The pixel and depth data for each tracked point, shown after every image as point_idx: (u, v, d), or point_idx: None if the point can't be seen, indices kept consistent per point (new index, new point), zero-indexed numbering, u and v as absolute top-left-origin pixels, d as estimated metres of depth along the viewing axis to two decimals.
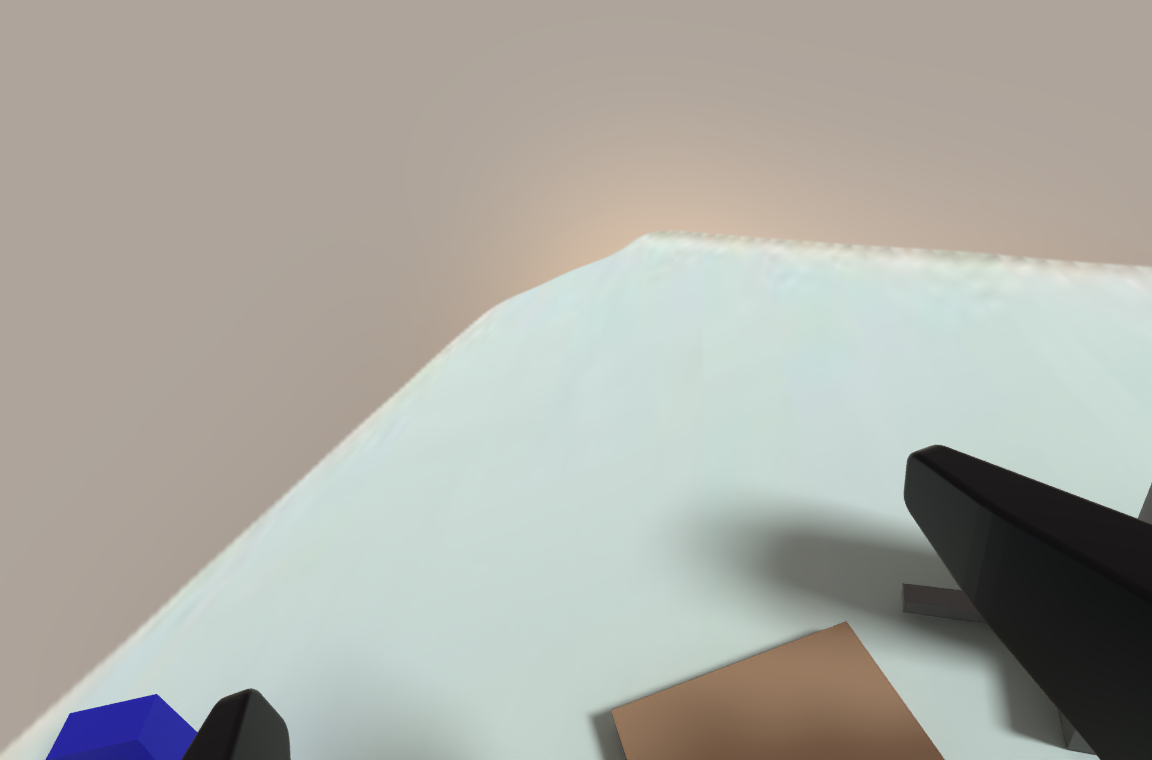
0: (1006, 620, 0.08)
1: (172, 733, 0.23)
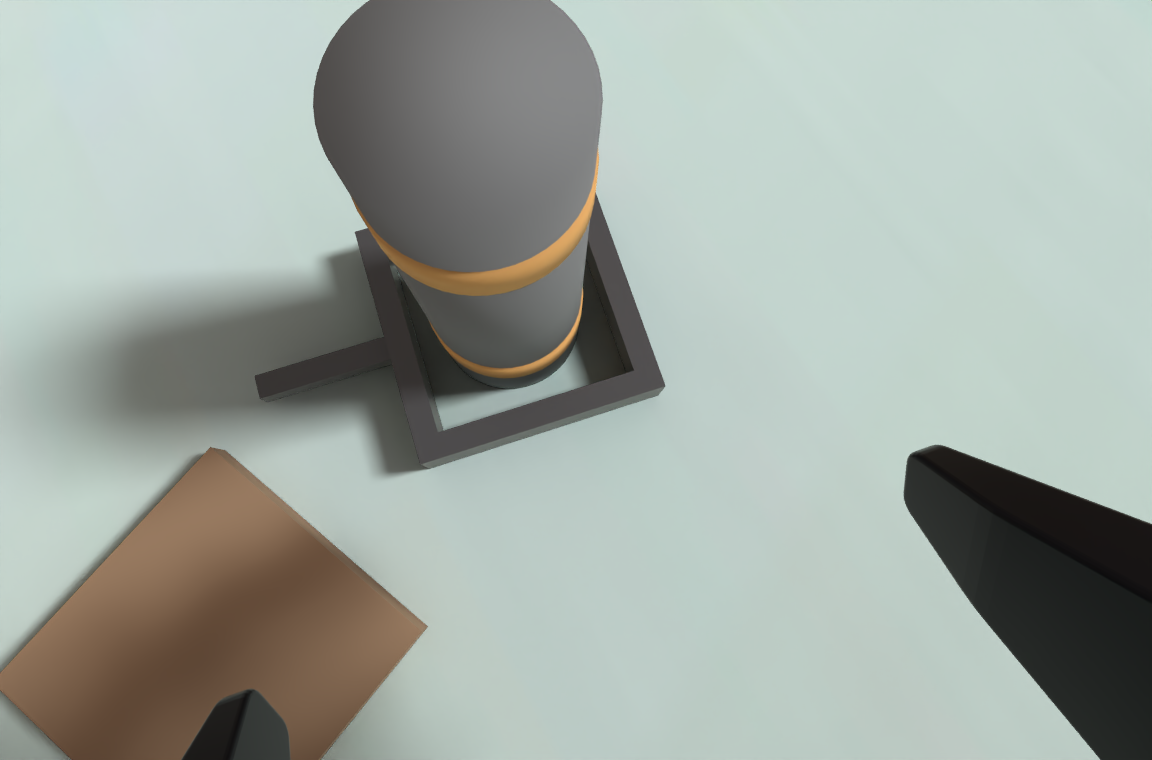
0: (1006, 620, 0.08)
1: None
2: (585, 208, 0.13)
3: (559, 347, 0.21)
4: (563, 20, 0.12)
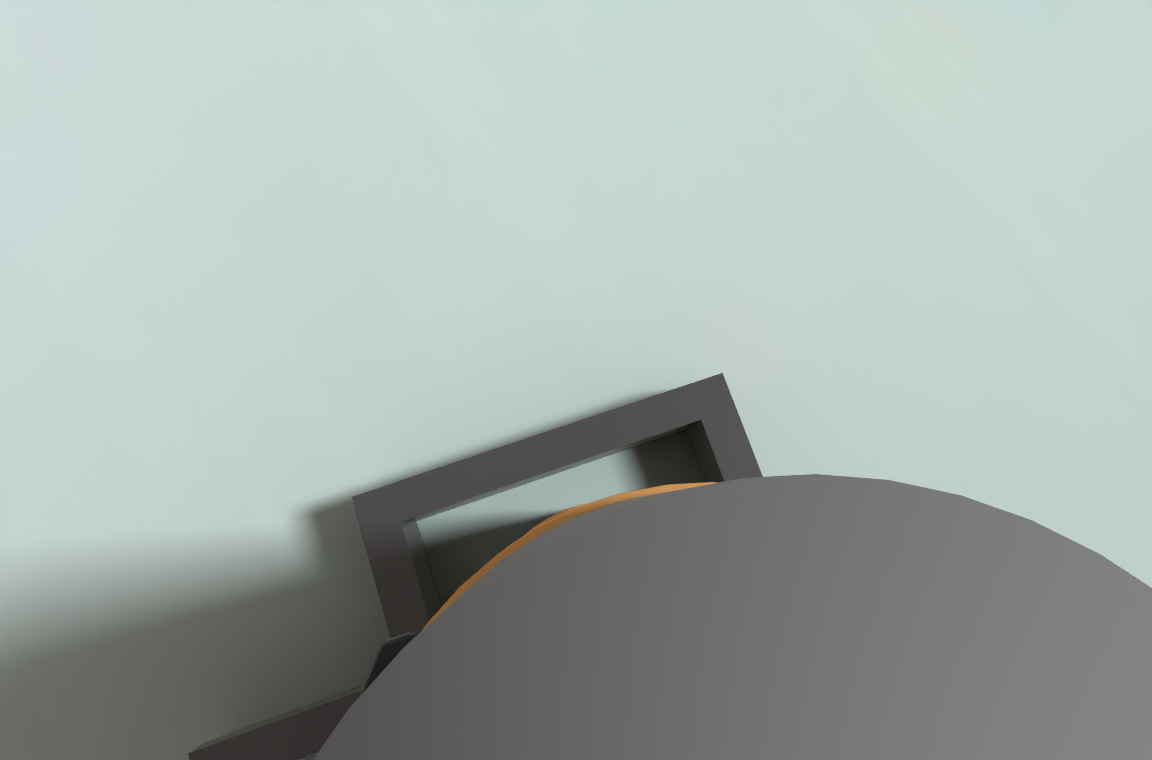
0: None
1: None
2: None
3: None
4: None
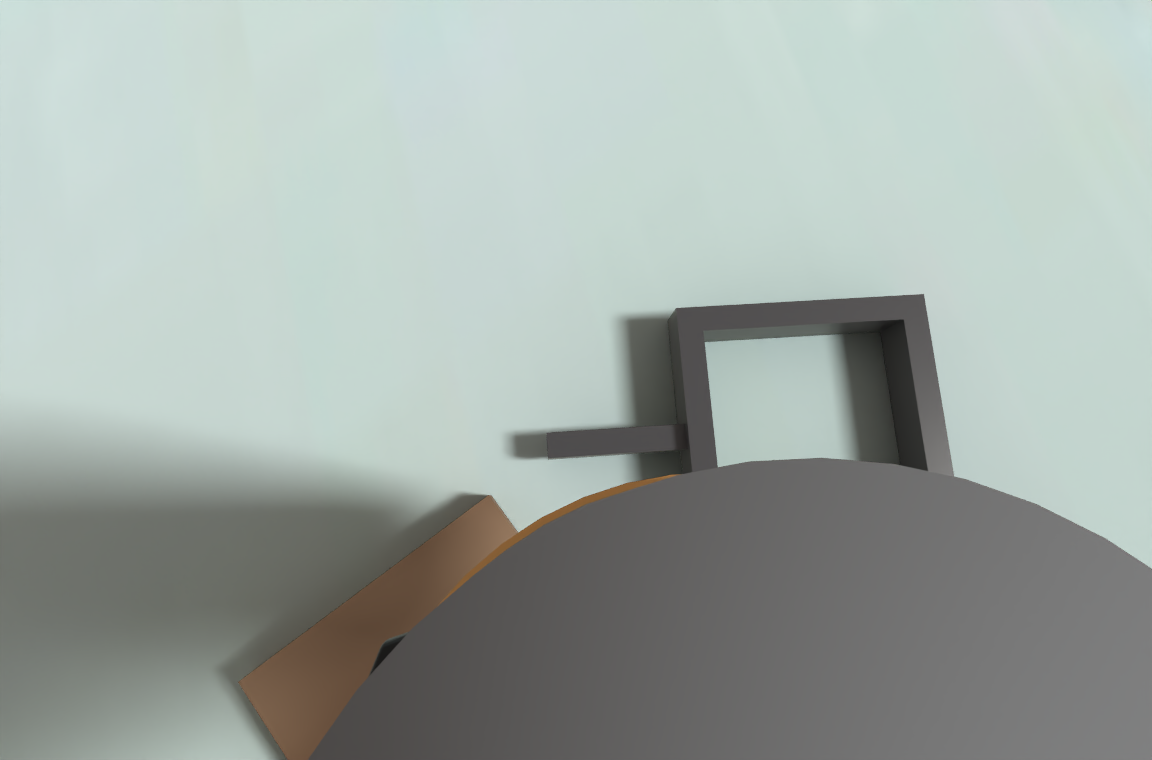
0: None
1: None
2: None
3: None
4: None
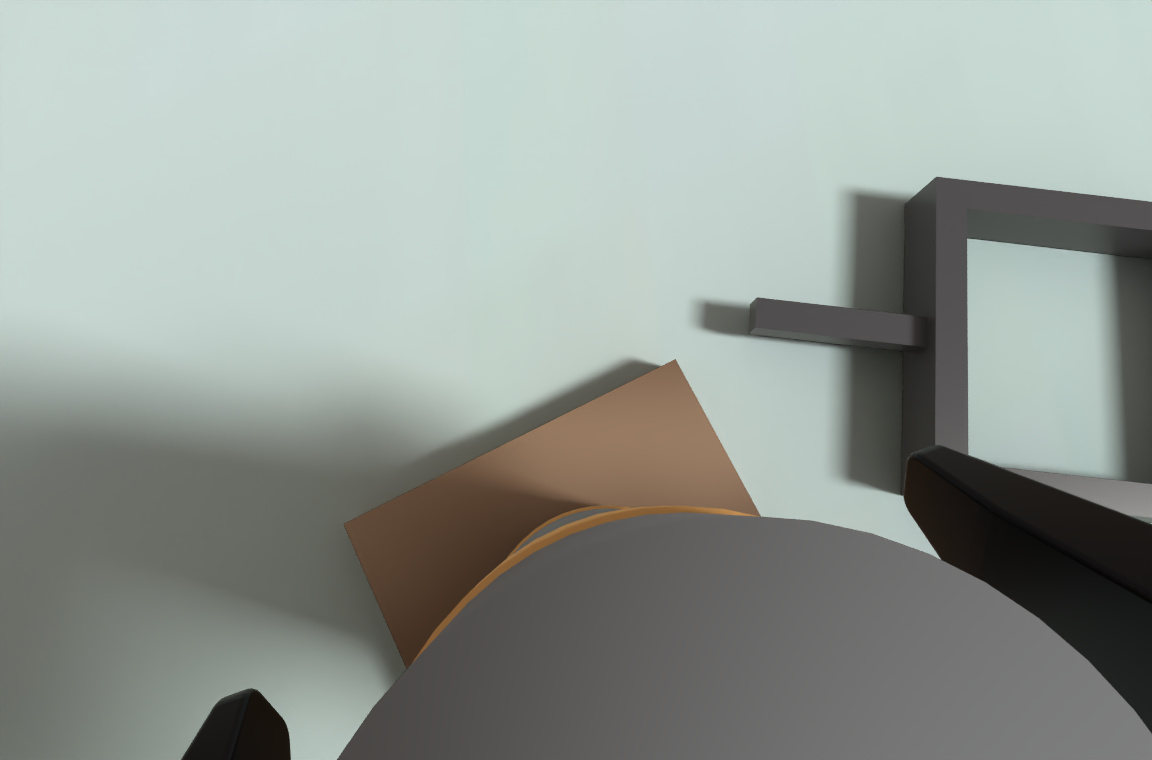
0: None
1: None
2: None
3: None
4: (1094, 700, 0.03)
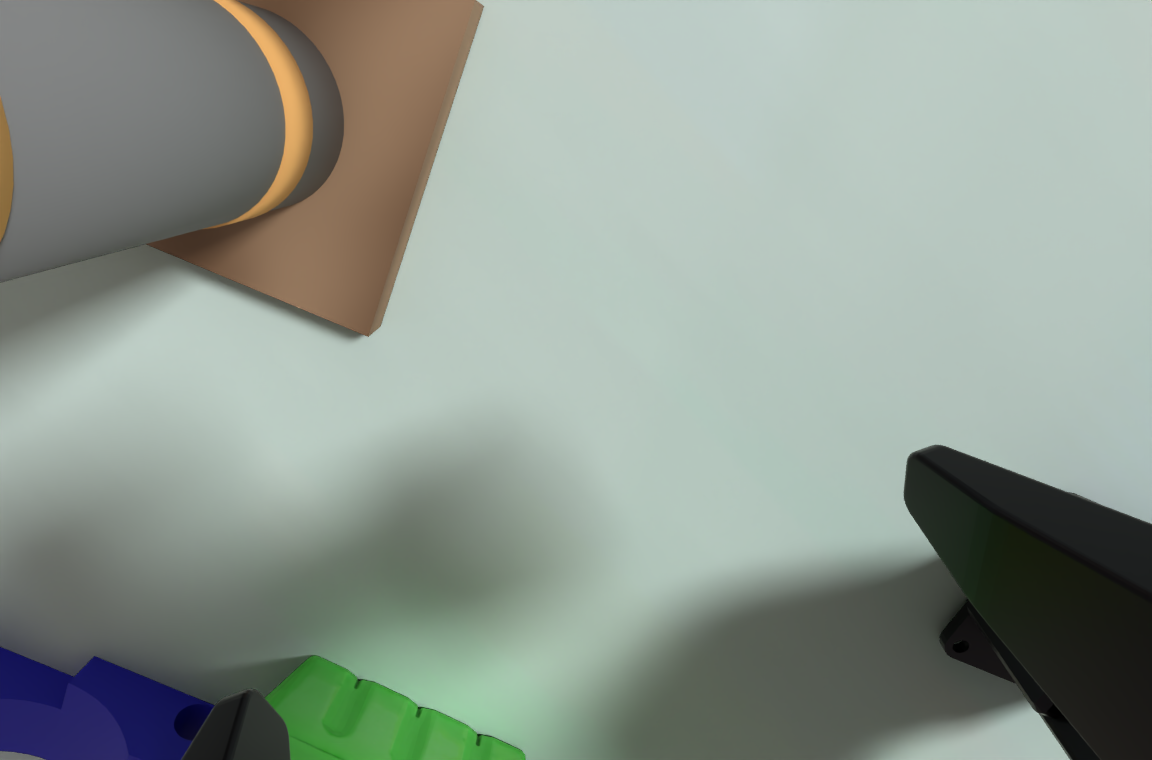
0: (1006, 620, 0.08)
1: None
2: None
3: (288, 119, 0.14)
4: None
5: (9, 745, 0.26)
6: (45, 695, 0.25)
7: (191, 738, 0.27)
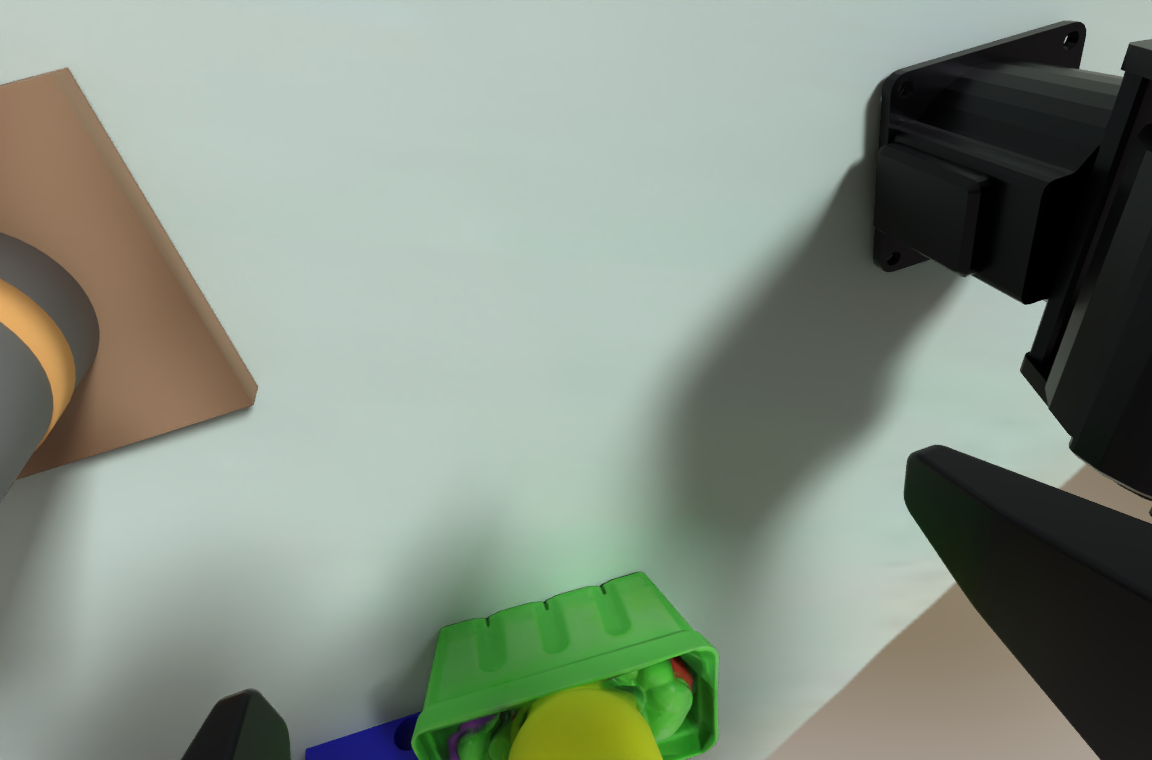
0: (1006, 620, 0.08)
1: None
2: None
3: (2, 319, 0.14)
4: None
5: None
6: None
7: None
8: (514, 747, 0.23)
